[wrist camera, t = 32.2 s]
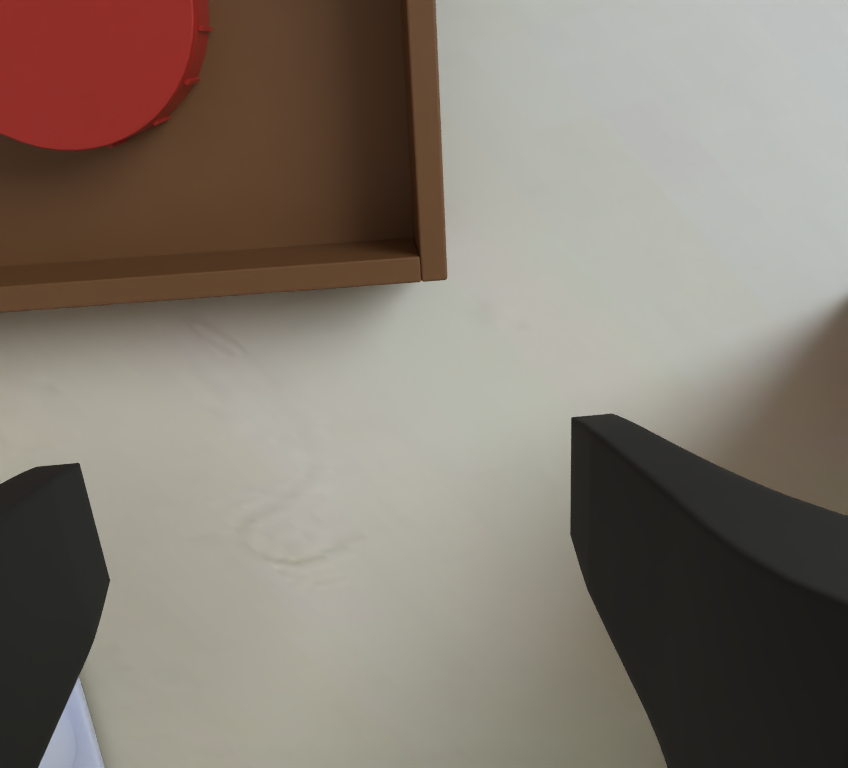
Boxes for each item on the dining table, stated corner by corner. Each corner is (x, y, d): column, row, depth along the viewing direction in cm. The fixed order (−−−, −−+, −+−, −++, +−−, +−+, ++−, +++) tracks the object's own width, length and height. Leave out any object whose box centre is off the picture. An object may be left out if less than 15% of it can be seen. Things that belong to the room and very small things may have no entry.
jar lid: (190, -153, 16) (171, -177, 15) (227, 136, 19) (214, 146, 17) (-97, -144, 16) (-152, -168, 14) (-25, 149, 18) (-65, 159, 17)
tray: (-175, 298, 20) (-244, 330, 18) (-397, -326, 15) (-532, -393, 13) (437, 254, 21) (447, 280, 18) (408, -352, 16) (417, -419, 14)
